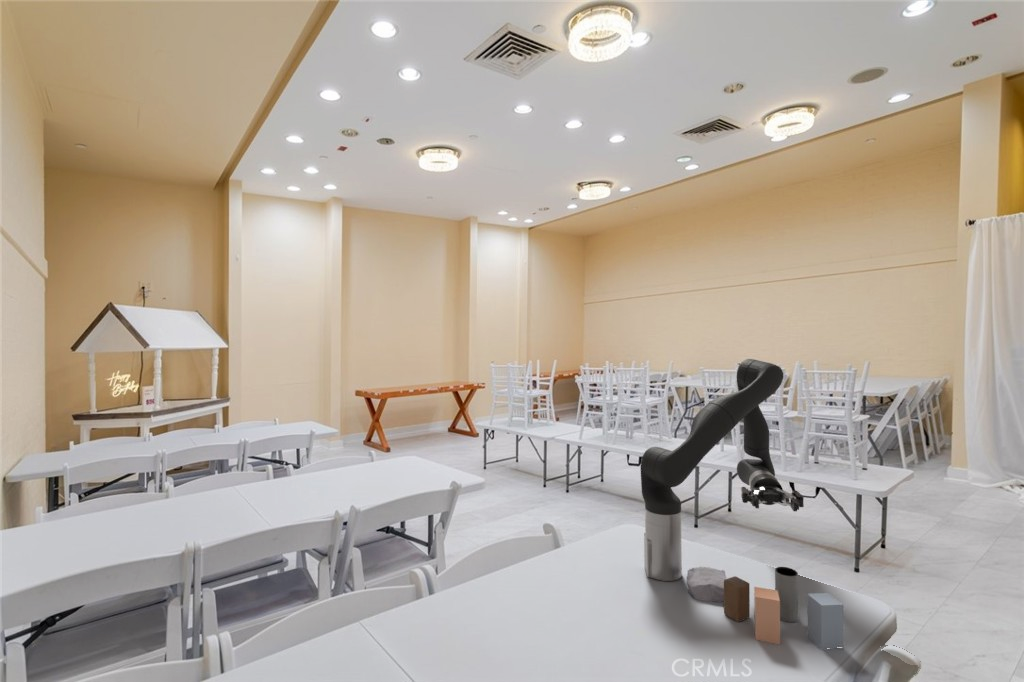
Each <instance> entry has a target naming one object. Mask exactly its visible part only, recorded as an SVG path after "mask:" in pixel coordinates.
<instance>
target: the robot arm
mask: <svg viewBox="0 0 1024 682" xmlns="http://www.w3.org/2000/svg"><path fill="white" fill-rule="evenodd" d="M783 380H784V371H783V369H782V368H781V367H780V366H779V365H776V364H774V363H772V362H766V361H763V360H758V359H754V358H747V359H744V360H742V361H741V363H740V364H739V366H738V368H737V371H736V385H737V390H738V391H736V392H732V393H729V394H725V395H722V396H719V397H716V398H715V399H712V400H711V401H709V402H708V403H707V404H706V405H705V406H704V407H703V408H701V409H700V410H699V411H698V412H697V413H696V415H695V416H694V418H693V420H692V424H691V427H690V431H689V435H688V436H687V438H686V439H685V440H684V442H682V443H681V444H680V445H679V446H678V447H676V448H675V449H673V450H670V449H666V448H663V447H659V446H651V447H650V448H647V449H646V451H644V452H643V455H642V457H641V460H640V483H641V484H640V485H641V495H642V499H643V500H644V518H645V519H644V523H645V526H644V527H645V528H644V529H645V532H644V534H643V535H644V536H643V540H644V541H643V542H644V544H643V545H644V547H643V549H644V551H643V553H644V555H643V557H644V559H643V560H644V570H645V574H646V577H647V578H652V579H655V580H658V581H663V582H674V581H677V580H679V579H681V578H682V575H683V572H682V570H683V567H682V566H683V565H682V557H683V555H682V553H683V552H682V501H681V499H680V498H679V497H678V496H677V494H676V493H675V492H674V490H673V489H672V488H675V487H678V486H680V485H681V484H682V483H683V482H684V481H685V480H686V479H687V478H688V477H689V476H690V475H691V473H692V472H693V471H694V470H695V468H696V467H698V465H699V463H700V462H702V460H703V459H704V458H705V456H706V455H708V453H709V452H710V451H712V450H713V448H714V447H715V446H716V445H717V444H718V443H719V442H720V441H721V440H722V439H724V438H725V437H726V436H727V435H728V434H729V433H730V432H731V431H732V430H733V429H735V427H736V426H737V425H738V424H739V423H740V422H741V421H742V420H743V421H742V422H743V451H744V453H745V454H747V455H748V456H750V457H753V458H758V459H752V458H750V459H749V458H744V459H741V460H739V461H738V462H737V466H736V473H737V475H738V478H739V480H740V481H741V482H742V483H743V484H745V485H747V486H748V487H749V488H747V487H746V486H741V488H740V491H741V493H740V494H741V500H742V503H744V504H748V503H749V502H750V503H749V504H750V505H752V507H754V508H755V509H758V510H759V508H760V505H761V504H762V505H766V506H773V505H781V506H784V507H790V508H791V509H792V511H793V512H798V511H799V510H800V508H804V498H805V497H804V496H803V494H801V493H800V491H798V490H795V489H794V490H792V492H788V491H786V490H784V489H783V486H782V485H781V483H780V482H779V481H778V480H779V479H777V478H776V476H775V475H776V472H775V468H774V465H773V462H772V458H771V454H770V429H769V425H768V422H767V420H766V418H765V416H764V414H763V412H762V409H761V408H760V405H761V404H762V403H763V402H765V401H766V400H767V399H768V398H770V397H771V396H773V395H774V394H775V393H776V392H777V390H778V389H779V388H780V387H781V385H782V383H783ZM749 489H750V490H749Z"/></svg>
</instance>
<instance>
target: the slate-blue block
mask: <svg viewBox="0 0 1024 682" xmlns="http://www.w3.org/2000/svg"><path fill="white" fill-rule="evenodd" d="M806 600H807V637H808V638H809V639H810V640H811V641H812V642H813V643H814V644H815V645H816V646H817V647H818V648H820V650H822V649H824V650H828V649H827V648H837V647H843V648H844V603H842V602H841V601H839V600H838V599H837V598H835V597H834V596H833V595H831V594H830V593H829V592H822V593H821V592H820V593H807V599H806Z"/></svg>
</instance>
